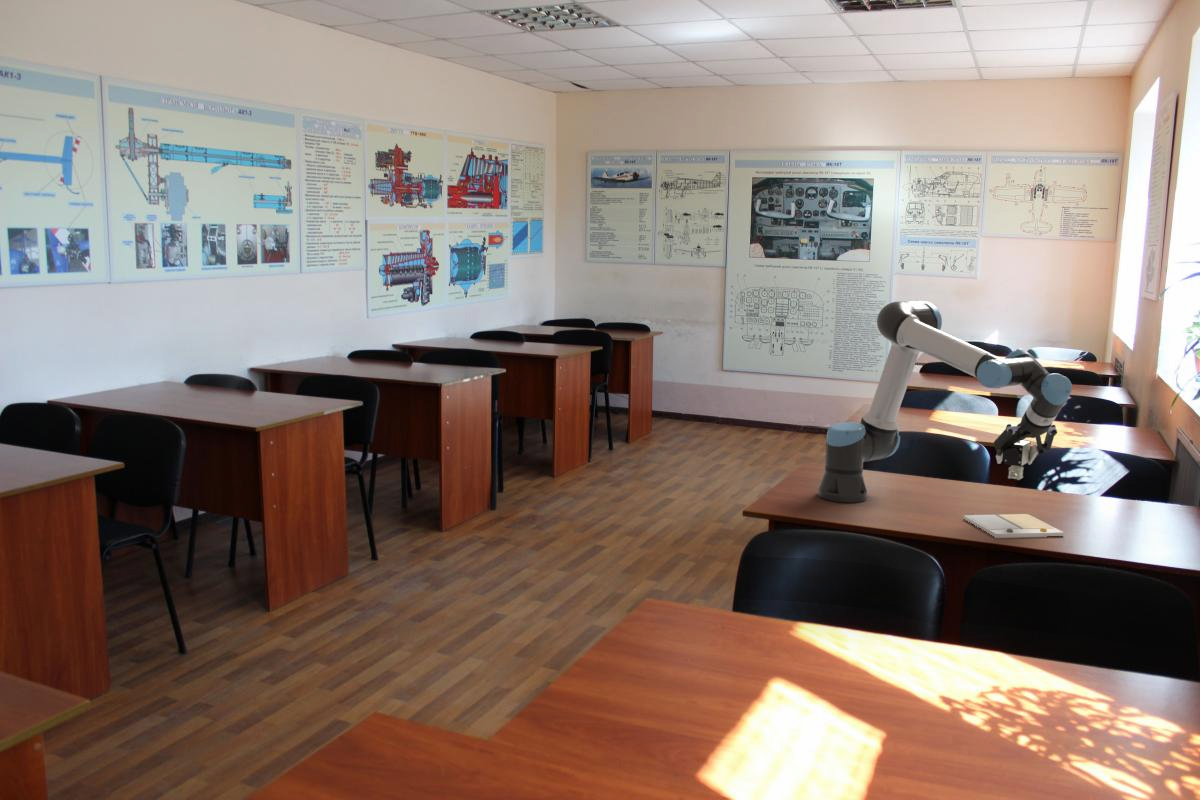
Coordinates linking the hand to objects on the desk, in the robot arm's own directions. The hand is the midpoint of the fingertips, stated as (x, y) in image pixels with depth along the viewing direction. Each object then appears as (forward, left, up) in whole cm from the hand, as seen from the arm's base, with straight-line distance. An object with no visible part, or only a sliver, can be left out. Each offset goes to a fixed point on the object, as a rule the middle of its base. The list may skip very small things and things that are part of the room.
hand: (1013, 460), depth 284 cm
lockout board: (+14, -7, -17) cm, 23 cm away
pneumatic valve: (+3, -1, -5) cm, 6 cm away
